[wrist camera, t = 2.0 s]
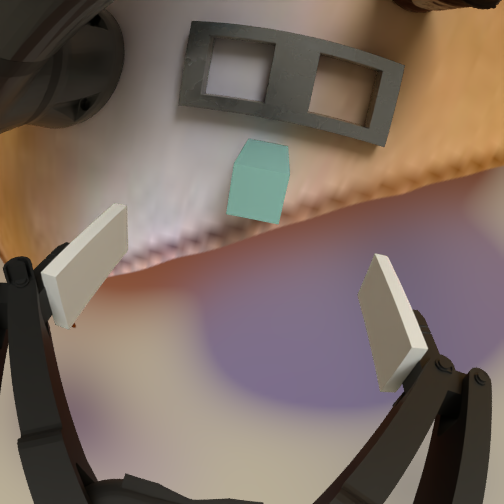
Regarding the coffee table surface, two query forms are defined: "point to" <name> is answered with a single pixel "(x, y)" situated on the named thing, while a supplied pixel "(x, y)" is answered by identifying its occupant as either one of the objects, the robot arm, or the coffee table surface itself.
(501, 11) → the coffee table surface
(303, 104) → the grey flat frame
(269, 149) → the teal brick
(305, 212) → the coffee table surface
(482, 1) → the coffee cup
